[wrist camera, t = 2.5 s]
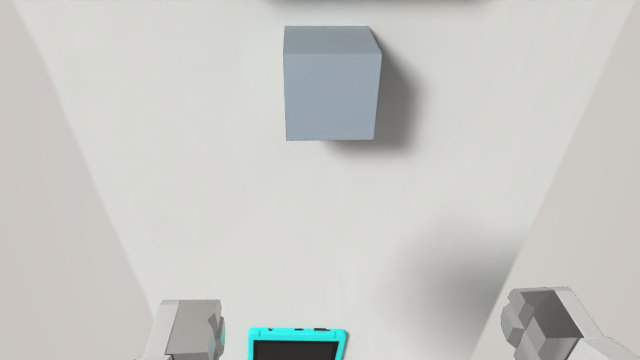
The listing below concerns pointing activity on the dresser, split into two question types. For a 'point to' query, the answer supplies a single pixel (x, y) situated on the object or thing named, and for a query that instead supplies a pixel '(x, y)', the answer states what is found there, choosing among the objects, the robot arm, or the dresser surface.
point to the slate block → (330, 82)
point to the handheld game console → (295, 344)
